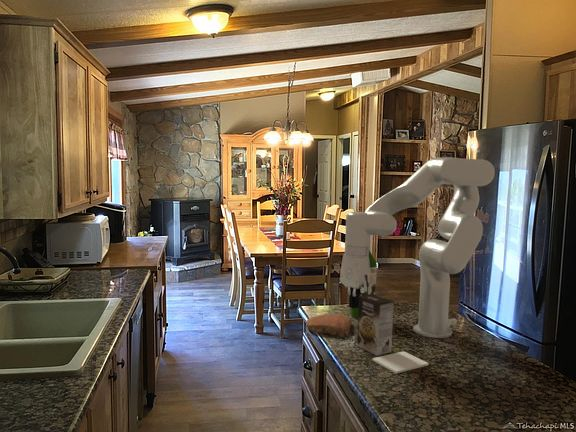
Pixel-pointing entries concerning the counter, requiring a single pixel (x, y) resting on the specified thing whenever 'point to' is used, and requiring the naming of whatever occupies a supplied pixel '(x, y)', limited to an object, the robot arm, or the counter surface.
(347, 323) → the ceramic shard
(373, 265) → the wine bottle
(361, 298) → the coffee box
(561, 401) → the counter surface
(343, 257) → the robot arm
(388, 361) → the white flat panel
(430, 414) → the counter surface
